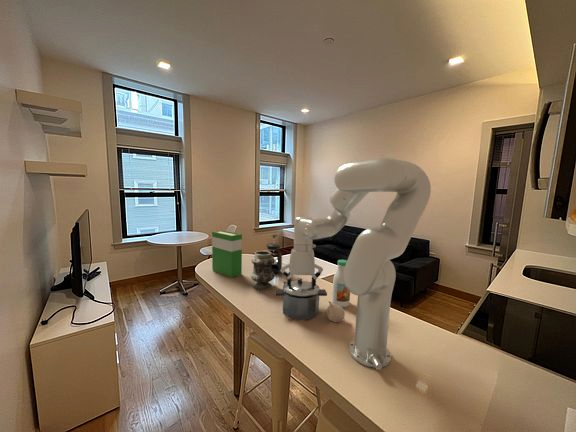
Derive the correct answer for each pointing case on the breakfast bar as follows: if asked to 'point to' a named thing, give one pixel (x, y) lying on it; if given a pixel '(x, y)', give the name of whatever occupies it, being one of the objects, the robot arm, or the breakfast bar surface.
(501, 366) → the breakfast bar surface
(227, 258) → the green tissue carton
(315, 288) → the cooker lid
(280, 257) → the french press
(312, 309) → the cooker pot
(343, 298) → the milk bottle
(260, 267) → the grey rounded vessel
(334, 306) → the garlic bulb
